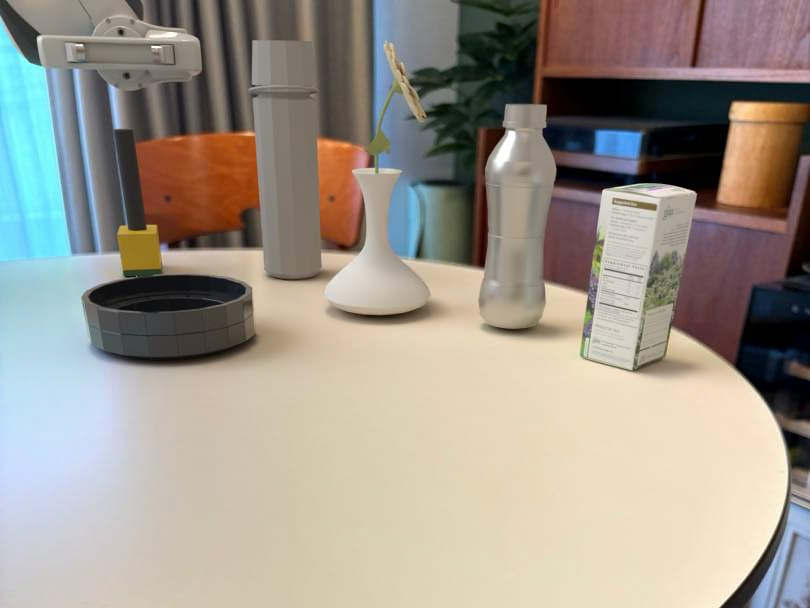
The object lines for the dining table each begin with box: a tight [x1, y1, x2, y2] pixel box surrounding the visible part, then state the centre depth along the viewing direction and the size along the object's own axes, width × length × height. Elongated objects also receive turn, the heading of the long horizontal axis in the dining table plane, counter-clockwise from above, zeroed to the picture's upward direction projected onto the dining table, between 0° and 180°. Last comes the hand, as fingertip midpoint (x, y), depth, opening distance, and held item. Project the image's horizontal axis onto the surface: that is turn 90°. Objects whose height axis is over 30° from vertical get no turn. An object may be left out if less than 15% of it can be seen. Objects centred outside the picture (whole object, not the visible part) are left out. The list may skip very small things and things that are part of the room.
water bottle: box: [248, 39, 323, 280], centre depth 98 cm, size 9×8×25 cm
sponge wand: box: [113, 128, 163, 277], centre depth 100 cm, size 4×6×16 cm
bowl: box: [80, 273, 256, 361], centre depth 78 cm, size 15×15×4 cm
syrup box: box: [579, 183, 698, 371], centre depth 72 cm, size 6×6×14 cm
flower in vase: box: [323, 39, 432, 316], centre depth 83 cm, size 13×11×25 cm
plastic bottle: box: [478, 103, 557, 330], centre depth 79 cm, size 6×7×20 cm
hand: (118, 53), depth 102 cm, fingers open, 8 cm apart
